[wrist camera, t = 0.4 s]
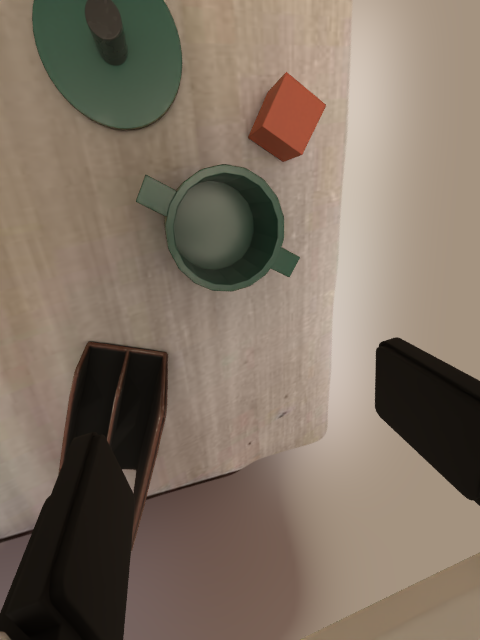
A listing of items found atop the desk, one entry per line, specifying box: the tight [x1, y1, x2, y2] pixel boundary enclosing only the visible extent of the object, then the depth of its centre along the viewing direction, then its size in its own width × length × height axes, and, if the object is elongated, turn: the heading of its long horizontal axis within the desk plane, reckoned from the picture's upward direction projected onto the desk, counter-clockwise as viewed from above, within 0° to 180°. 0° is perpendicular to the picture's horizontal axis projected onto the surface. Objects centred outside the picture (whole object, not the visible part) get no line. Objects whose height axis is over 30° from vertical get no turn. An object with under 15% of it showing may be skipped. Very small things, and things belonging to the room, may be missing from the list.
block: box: [248, 72, 326, 162], centre depth 30 cm, size 5×5×5 cm
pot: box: [136, 164, 300, 291], centre depth 31 cm, size 11×17×8 cm
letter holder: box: [59, 342, 168, 551], centre depth 34 cm, size 10×20×14 cm, turn 163°
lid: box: [32, 0, 182, 130], centre depth 24 cm, size 12×12×6 cm
